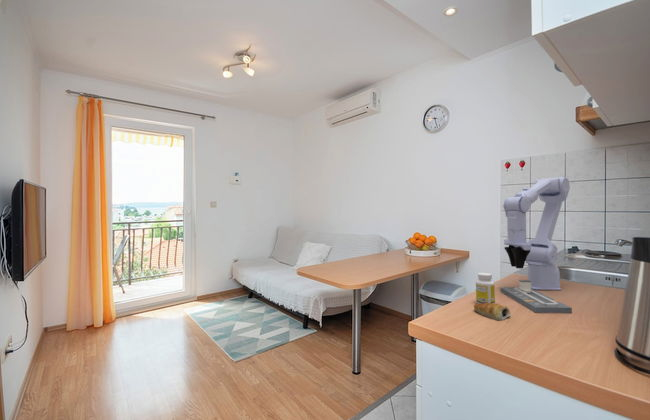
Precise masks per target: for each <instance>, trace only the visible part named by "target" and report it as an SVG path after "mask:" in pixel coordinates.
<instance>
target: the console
mask: <svg viewBox="0 0 650 420" xmlns="http://www.w3.org/2000/svg"><path fill="white" fill-rule="evenodd" d="M499 290H500V292H501V293H502V294H504V295H505V296H508V297H509V298H511V299H513V300H514V301H515V302H517V303H518V304H521V306H524V307H526V308H527V309H529V310H530V311H532V312H534V313H537V314H539V313H540V314H573V309H572V307H571V306H569V305H567V304H564V303H563V302H560V301H558V300H557V299H554V298H552V297H550V296H548V295H546V294H544V293H542V292H539V290H535V289H532V288H531V293H525V292H523V291H521V290H520V289H519V286H517V287H515V286H514V287H512V286H509V287H508V286H500V287H499Z"/></svg>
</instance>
